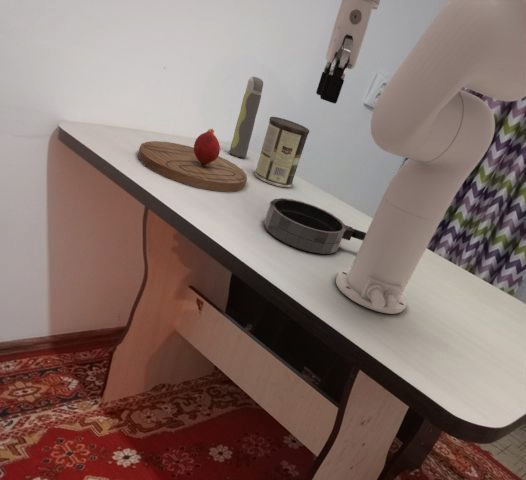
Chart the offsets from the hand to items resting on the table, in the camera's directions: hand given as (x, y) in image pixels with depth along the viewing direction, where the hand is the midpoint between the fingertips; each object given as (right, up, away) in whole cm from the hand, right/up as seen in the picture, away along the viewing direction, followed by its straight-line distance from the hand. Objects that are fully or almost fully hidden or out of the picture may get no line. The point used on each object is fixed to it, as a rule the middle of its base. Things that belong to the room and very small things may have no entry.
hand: (325, 98), depth 89 cm
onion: (-26, -7, +16) cm, 31 cm away
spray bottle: (-20, +6, +42) cm, 47 cm away
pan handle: (+9, -28, +3) cm, 29 cm away
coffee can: (-10, -4, +32) cm, 34 cm away
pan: (-5, -26, +3) cm, 27 cm away
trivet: (-28, -7, +18) cm, 34 cm away
